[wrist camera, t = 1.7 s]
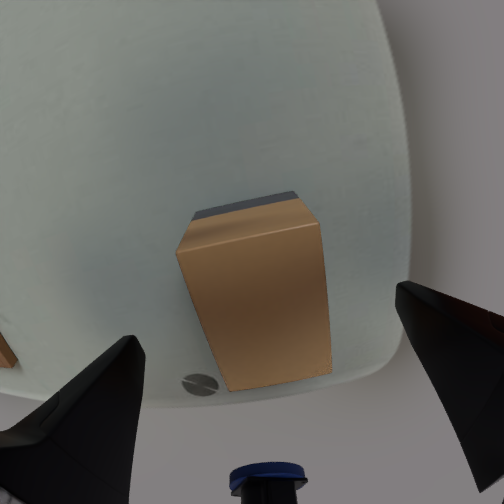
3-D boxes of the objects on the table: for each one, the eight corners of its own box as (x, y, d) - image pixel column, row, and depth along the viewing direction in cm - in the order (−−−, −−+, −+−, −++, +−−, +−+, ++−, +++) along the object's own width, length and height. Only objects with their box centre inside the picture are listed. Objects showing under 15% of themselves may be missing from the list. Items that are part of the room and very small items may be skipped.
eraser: (312, 313, 14) (332, 373, 10) (230, 329, 14) (228, 392, 10) (294, 190, 11) (320, 221, 8) (195, 211, 12) (174, 252, 8)
